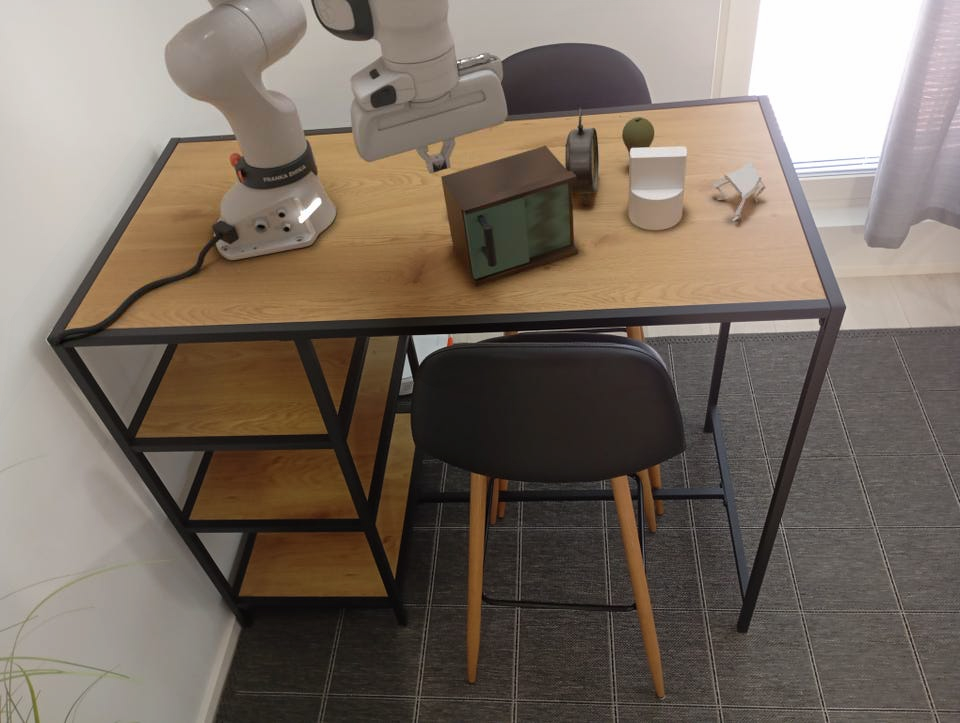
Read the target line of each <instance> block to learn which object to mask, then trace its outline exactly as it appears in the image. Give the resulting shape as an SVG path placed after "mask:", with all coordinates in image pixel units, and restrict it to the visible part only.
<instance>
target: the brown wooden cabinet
mask: <svg viewBox="0 0 960 723" xmlns="http://www.w3.org/2000/svg"><path fill="white" fill-rule="evenodd" d="M440 178H441V185H442V190H443V196H444V202H445V208H446V214H447V219H448V225H449V232H450V237H451V238H450V239H451V243H452V248H453V249H454V252H455V253H456V255H457V257H458V258H459V260H460V262H461V263H462V265H463V267H464V269H465V270H466V272H467V274H468V275H469V277H470V279H471V281H472V282H473V284H474V286H475V287H479V286H481V285H484V284H488V283H491V282H495V281H497V280H500V279H503V278H506V277H509V276H512V275H516V274H518V273H519V274H520V273H521V272H525V271H528V270H531V269H534V268H537V267H540V266H541V267H542V266H544V265H547V264H550V263H553V262H557V261H559V260H562V259H565V258H568V257H572V256H575V255H577V254H579V249H578V247H577V246H576V244H575V234H574V209H573V208H574V207H573V206H574V205H573V204H574V202H573V192H572V182H574V181H576V175H575V174H574V173H573V172H572V171H569V172H568V171H567V169H566V166H564V165H563V163H562V162H561V161H560V160H559V159H558V158H557V157H556V155H555V154H554V153H553V152H552V151H551V150H550V149H549V147H548V146H547V145H543V146H539V147H537V148H533V149H530V150H526V151H523V152H520V153H516V154H513V155H509V156H506V157H504V158H499V159H496V160H493V161H489V162H486V163H483V164H478V165H476V166H473V167H468V168H466V169H461V170H458V171H455V172H452V173H449V174H445V175H442V176H440ZM521 197H524V204H525V216H526V227H527V239H528V250H529V262H528V263H524V264H521V265H518V266H515V267H512V268H509V269H506V270H503V271H499V272H496V273H493V274H490V275H487V276H484V277H481V278H478V279H474V277H473V272H472V266H471V259H470V253H469V246H468V240H467V233H466V227H465V220H464V214H463V213H465V214H469V213H472V212H475V211H479V210H482V209H485V208H489V207H492V206H495V205H498V204H502V203H505V202H508V201H511V200H515V199H518V198H521Z"/></svg>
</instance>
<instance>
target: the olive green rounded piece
mask: <svg viewBox="0 0 960 723" xmlns="http://www.w3.org/2000/svg"><path fill="white" fill-rule="evenodd" d="M654 128H655V127H654V126H653V124H652V123H651V121H650V120H648V119H647V118H645V117H642V116H637V117H633V118H631V119H630V120H628V121H627V122H626V123H625V125H624V126H623V128H622V134H621V138H622V142H623V144H624V146H625V147H626V150H627V152H628V156H629V157H630V150H631V148H645V147H651V145H652V143H653V141H654V138H655V129H654Z"/></svg>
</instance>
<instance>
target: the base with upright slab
mask: <svg viewBox="0 0 960 723" xmlns="http://www.w3.org/2000/svg"><path fill="white" fill-rule="evenodd" d="M687 158H688V149H687V147H686V146H685V145H682V146H650V147H645V148H631V150H630V156H629V163H628V166H629V168H628V169H629V170H628V203H627V204H628V208H627V209H628V210H627V216H628V220H629V221H630V222H631V223H632V224H633V225H634V226H636V227H638V228H640V229H644V230H647V231H662V230H667V229H670V228H672V227H674V226H676V225H678V223H680V222H681V221H682V217H683V208H684V197H685V186H686V172H687V161H688V160H687Z"/></svg>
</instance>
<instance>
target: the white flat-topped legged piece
mask: <svg viewBox="0 0 960 723" xmlns="http://www.w3.org/2000/svg"><path fill="white" fill-rule="evenodd" d="M723 177H724V178H722V179H720V180H718V181H717V182H714V183H713V184H711V185H712V186H713V187H714V188H715V189H716V190H717V191H718V192H719V193H720V194H721V197H716V200H717V201H722V200H723V201H724V200H728V197H727V196H726V194H725V193H724V192H723V190H721V188H720V187H722V186H724V185H727V184H729V183H730V185H731V186H732V187H733V188H734V190H735V191H736V192H737V193H738V194H739V195H740V197H741V199H742V200H741V202H740V203H739V205H738V207H737V209H736V211H735V217H734V218H732V222H736V221H738V219H740V218H741V217H742V215H741V211H742V210H743V206H744V204H745V202H746V200H747V199H748V198H749V197H750V196H751V195H752V194H753V193H755V192H756V189H757V187H758V186H759V183H760V185H762V187H761V188H760V189H759V191H758V192H757V193H756V195H755V196H754V200H755V202H756V203H759V201H758V199H757V198H758V197H759V196H760V195H761V194H762V192H763V191H764V190H765V189H766V188H767V186H766V184H765V183H764V182H763V181H762V176H761V175H760V174H759V173H758V171H757V170H756V168H755V167H754V165H753V163H752V161H750V162H748V163H747V164H745V165H743V166H742V167H740V168H738V169H737V170H735V171H732V172H730V173H729V174H725V173H724V174H723Z"/></svg>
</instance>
